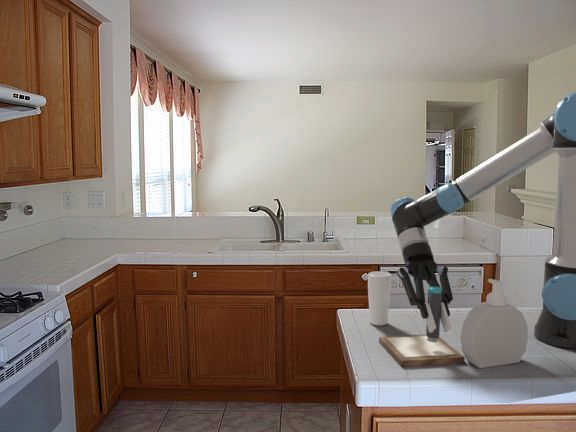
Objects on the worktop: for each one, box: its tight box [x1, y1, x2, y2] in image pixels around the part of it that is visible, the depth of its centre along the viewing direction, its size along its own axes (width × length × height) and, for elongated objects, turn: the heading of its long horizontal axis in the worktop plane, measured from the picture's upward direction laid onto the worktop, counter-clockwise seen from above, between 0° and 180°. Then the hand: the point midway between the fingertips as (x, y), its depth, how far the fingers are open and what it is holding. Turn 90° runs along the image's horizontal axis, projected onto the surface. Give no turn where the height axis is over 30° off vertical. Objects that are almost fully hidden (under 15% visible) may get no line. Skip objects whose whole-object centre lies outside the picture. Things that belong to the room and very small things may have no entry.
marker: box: [425, 285, 442, 342], centre depth 127 cm, size 3×3×13 cm
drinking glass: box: [367, 270, 392, 327], centre depth 152 cm, size 7×7×15 cm
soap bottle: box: [459, 278, 529, 369], centre depth 124 cm, size 16×5×20 cm, turn 108°
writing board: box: [378, 334, 466, 368], centre depth 130 cm, size 16×16×2 cm
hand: (440, 329), depth 123 cm, fingers closed on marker, 3 cm apart
